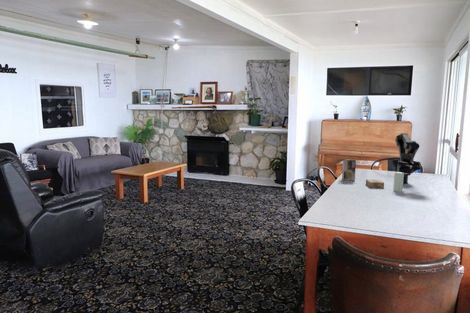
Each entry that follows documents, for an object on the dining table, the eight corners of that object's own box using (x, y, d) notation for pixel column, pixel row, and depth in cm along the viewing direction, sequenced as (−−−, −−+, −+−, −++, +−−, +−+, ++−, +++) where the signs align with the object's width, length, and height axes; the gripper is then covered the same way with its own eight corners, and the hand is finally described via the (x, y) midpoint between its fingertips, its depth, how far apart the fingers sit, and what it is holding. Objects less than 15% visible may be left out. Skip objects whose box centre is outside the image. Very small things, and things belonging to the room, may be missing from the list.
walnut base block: (379, 185, 274) (379, 179, 274) (383, 188, 264) (384, 182, 264) (365, 184, 275) (366, 179, 274) (369, 187, 265) (369, 182, 265)
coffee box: (353, 179, 295) (354, 159, 293) (355, 180, 289) (356, 160, 287) (341, 178, 296) (342, 158, 294) (343, 180, 290) (344, 160, 287)
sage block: (395, 190, 259) (397, 171, 257) (402, 191, 256) (403, 172, 254) (393, 190, 256) (394, 172, 254) (399, 192, 253) (401, 173, 251)
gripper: (394, 147, 266) (386, 164, 260) (421, 150, 253) (414, 167, 247) (397, 157, 273) (390, 174, 267) (424, 160, 260) (417, 178, 254)
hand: (402, 173), depth 258 cm, fingers open, 9 cm apart
